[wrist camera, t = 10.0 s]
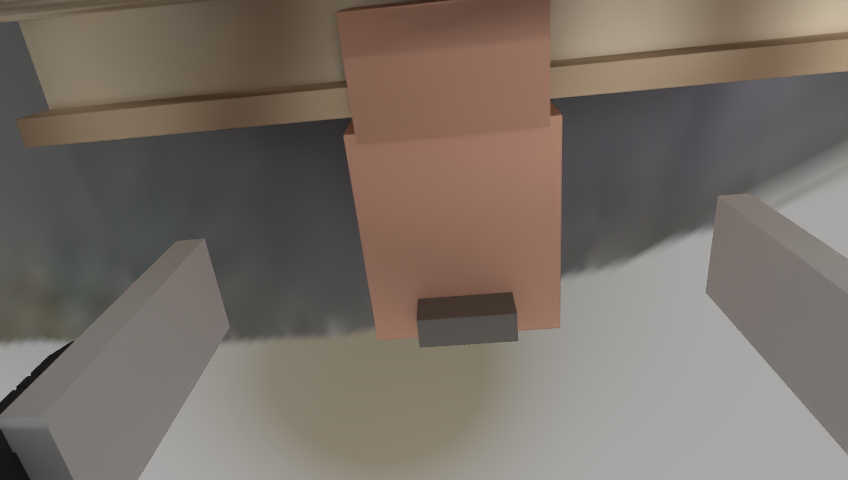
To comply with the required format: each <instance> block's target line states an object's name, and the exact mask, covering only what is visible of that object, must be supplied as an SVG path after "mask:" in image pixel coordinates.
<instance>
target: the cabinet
mask: <svg viewBox="0 0 848 480" xmlns="http://www.w3.org/2000/svg"><path fill="white" fill-rule="evenodd" d="M336 19H337V25H338V31H339V38H340V44H341V50H342V57H343V63H344V69H345V76H346V82H347V88H348V95H349V101H350V107H351V114H352V120H351V122H350V124H349V125H348V127H347V129H346V131H345V133H344V135H343V137H344V143H345V149H346V155H347V161H348V167H349V173H350V178H351V184H352V190H353V196H354V202H355V208H356V214H357V220H358V226H359V232H360V238H361V244H362V250H363V256H364V262H365V268H366V274H367V280H368V286H369V292H370V298H371V304H372V310H373V316H374V321H375V327H376V333H377V339H378V340H388V339H401V338H402V339H403V338H418V337H419V344H420V347H434V346H450V345H463V344H464V345H465V344H480V343H494V342H510V341H518V331H520V330H535V329H550V328H560V282H561V188H562V114H561V113H560V112H559V110H558V109H557V108H556V107H555V105H554V104H553V103H552V102H551V100H550V0H417V1H407V2H398V3H389V4H379V5H370V6H361V7H351V8H348V9H342V10H340V11H338V12H336Z"/></svg>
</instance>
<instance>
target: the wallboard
mask: <svg viewBox="0 0 848 480" xmlns="http://www.w3.org/2000/svg"><path fill="white" fill-rule="evenodd" d="M407 1H417V0H0V23H1V22H19V25H20V28H21V30H22V33H23V36H24V39H25V42H26V44H27V47H28V50H29V53H30V56H31V58H32V61H33V64H34V67H35V70H36V73H37V75H38V78H39V81H40V84H41V87H42V89H43V92H44V95H45V98H46V101H47V103H48V106H49V109H50V110H47V111H44V112H40V113H37V114H33V115H30V116H26V117H23V118H19V119H16V120H15V121H16V123H17V126H18V128H19V131H20V134H21V136H22V139H23V141H24V144H25V147H26V148H29V147H40V146H51V145H61V144H72V143H83V142H94V141H104V140H115V139H126V138H136V137H147V136H158V135H168V134H179V133H190V132H200V131H211V130H222V129H233V128H243V127H254V126H265V125H275V124H286V123H297V122H307V121H318V120H329V119H339V118H350V117H352V114H351V107H350V101H349V95H348V88H347V82H346V76H345V69H344V63H343V57H342V50H341V44H340V38H339V31H338V25H337V19H336V12H338V11H340V10H342V9H348V8H351V7H361V6H370V5H379V4H389V3H398V2H407ZM842 71H848V0H550V99H553V98H564V97H575V96H585V95H596V94H607V93H617V92H628V91H639V90H649V89H660V88H671V87H681V86H692V85H703V84H713V83H724V82H735V81H746V80H756V79H767V78H778V77H788V76H799V75H810V74H820V73H831V72H842Z"/></svg>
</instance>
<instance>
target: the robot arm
mask: <svg viewBox="0 0 848 480" xmlns="http://www.w3.org/2000/svg"><path fill="white" fill-rule="evenodd" d="M706 293H707V294H708V295H709V296H710V298H711V299H712V300H713V301H714V302H715V303H716V305H717V306H718V307H719V308H720V309H721V310H722V311H723V313H724V314H725V315H726V316H727V317H728V318H729V319H730V320H731V322H733V324H734V325H735V326H736V327H737V329H738V330H739V331H740V332H741V333H742V334H743V335H744V337H745V338H746V339H747V340H748V341H749V342H750V343H751V345H752V346H753V347H754V348H755V349H756V350H757V351H758V352H759V354H760V355H761V356H762V357H763V358H764V359H765V360H766V362H767V363H768V364H769V365H770V366H771V367H772V369H773V370H774V371H775V372H776V373H777V374H778V375H779V376H780V378H781V379H782V380H783V381H784V382H785V383H786V385H787V386H788V387H789V388H790V389H791V390H792V392H794V394H795V395H796V396H797V397H798V398H799V399H800V401H801V402H802V403H803V404H804V405H805V406H806V408H807V409H808V410H809V411H810V412H811V413H812V414H813V416H815V418H816V419H817V420H818V421H819V422H820V423H821V425H822V426H823V427H824V428H825V429H826V430H827V431H828V433H829V434H830V435H831V436H832V437H833V438H834V439H835V441H836V442H837V443H838V444H839V445H840V446H841V448H842V449H843V450H844V451H845V452H846V453H847V454H848V259H847V258H846V257H844V256H842V255H841V254H840V253H838V252H837V251H835V250H834V249H832V248H831V247H829V246H828V245H826V244H825V243H823V242H822V241H820V240H819V239H817V238H816V237H814V236H813V235H811V234H810V233H808V232H806V231H805V230H804V229H802V228H801V227H799V226H798V225H796V224H795V223H793V222H792V221H790V220H789V219H787V218H786V217H784V216H783V215H781V214H780V213H778V212H777V211H775V210H774V209H772V208H771V207H769V206H768V205H766V204H765V203H763V202H762V201H760V200H759V199H757V198H756V197H754V196H753V195H751V194H750V193H748V194H736V195H724V196H718V200H717V208H716V216H715V223H714V231H713V239H712V248H711V255H710V263H709V271H708V280H707V287H706ZM229 328H230V326H229V323H228V319H227V316H226V312H225V309H224V305H223V302H222V298H221V295H220V291H219V288H218V284H217V281H216V277H215V274H214V270H213V267H212V263H211V260H210V256H209V253H208V249H207V246H206V242H205V239H194V240H182V241H176V242H175V243H174V244H173V245H172V246H171V247H170V248H169V249H168V250H167V251H166V252H165V253H164V254H163V255H161V256H160V257H159V258H158V259H157V260H156V261H155V262H154V263H153V264H152V265H151V266H150V267H149V268H148V269H147V270H146V271H145V272H144V273H143V274H142V275H141V276H140V277H139V278H138V279H137V280H136V281H135V282H134V283H133V284H132V285H131V286H130V287H129V288H128V289H127V290H126V291H125V292H124V293H123V294H122V295H121V296H120V297H119V298H118V299H117V300H116V301H115V302H114V303H113V304H112V305H111V306H110V307H109V308H108V309H107V310H106V311H105V312H104V313H103V314H102V315H101V316H100V317H99V318H98V319H97V320H96V321H95V322H94V323H93V324H92V325H91V326H90V327H89V328H88V329H86V330H85V331H84V332H83V333H82V334H81V335H80V336H79V337H78V338H77V339H76V340H75V341H72V342H70V343H69V344H67V345H65V346H64V347H62V348H61V349H59V350H57V351H56V352H54V353H53V354H51V355H49V356H48V357H47V358H46V359H45V360H44V361H43V362H42V363H41V364H40V365H39V366H38V367H36V368H35V370H33V372H31V376H27V377H26V378H25V379H24V380H23V381H22V382H21V383H20V384H19V385H18V386H17V387H16V388H17V389H16V390H12V392H10V393H9V394H8V395H7V396H6V397H5V398H4V399H3V400H2V401H1V402H0V480H138V479H139V477H140V475H141V473H142V472H143V470H144V469H145V467H146V465H147V464H148V462H149V460H150V459H151V457H152V455H153V454H154V452H155V450H156V449H157V447H158V445H159V444H160V442H161V440H162V439H163V437H164V435H165V434H166V432H167V430H168V429H169V427H170V425H171V424H172V422H173V421H174V419H175V417H176V416H177V414H178V412H179V411H180V409H181V407H182V405H183V404H184V402H185V400H186V399H187V397H188V395H189V394H190V392H191V391H192V389H193V387H194V386H195V384H196V382H197V381H198V379H199V377H200V376H201V374H202V372H203V371H204V369H205V367H206V366H207V364H208V362H209V361H210V359H211V357H212V356H213V354H214V353H215V351H216V349H217V348H218V346H219V344H220V343H221V341H222V339H223V338H224V336H225V334H226V333H227V331H228V329H229Z"/></svg>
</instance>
